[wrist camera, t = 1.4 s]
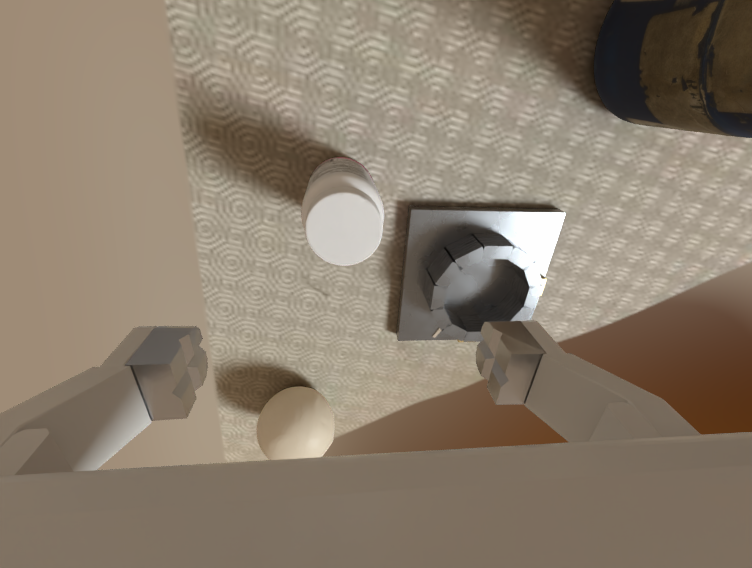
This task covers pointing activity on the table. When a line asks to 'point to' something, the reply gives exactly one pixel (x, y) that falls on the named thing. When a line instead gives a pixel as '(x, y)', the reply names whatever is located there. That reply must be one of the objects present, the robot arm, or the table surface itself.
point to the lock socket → (472, 268)
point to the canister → (678, 64)
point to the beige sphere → (295, 425)
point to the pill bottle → (342, 212)
